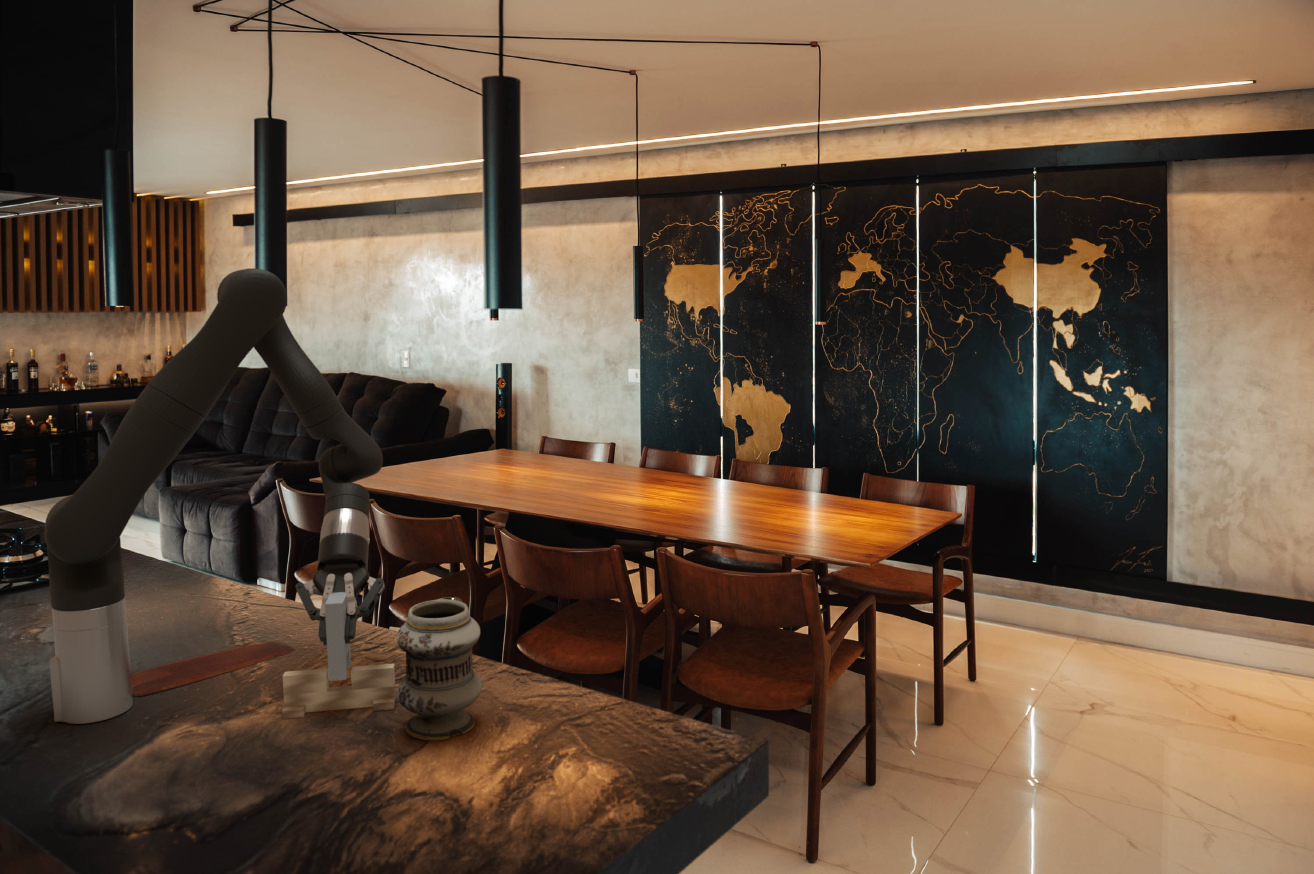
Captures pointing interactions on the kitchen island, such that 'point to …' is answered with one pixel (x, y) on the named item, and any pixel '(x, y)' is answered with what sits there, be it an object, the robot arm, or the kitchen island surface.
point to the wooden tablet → (203, 667)
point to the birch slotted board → (338, 690)
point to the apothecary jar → (439, 669)
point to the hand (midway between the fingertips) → (336, 641)
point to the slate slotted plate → (337, 636)
